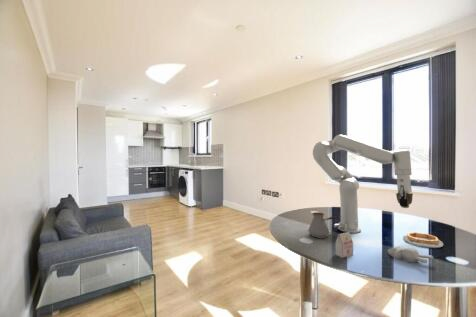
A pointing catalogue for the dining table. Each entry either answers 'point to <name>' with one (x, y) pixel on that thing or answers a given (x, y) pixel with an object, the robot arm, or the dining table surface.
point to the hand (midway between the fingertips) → (405, 204)
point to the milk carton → (344, 245)
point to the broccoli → (408, 197)
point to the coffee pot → (319, 225)
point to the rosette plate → (423, 240)
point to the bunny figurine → (408, 254)
